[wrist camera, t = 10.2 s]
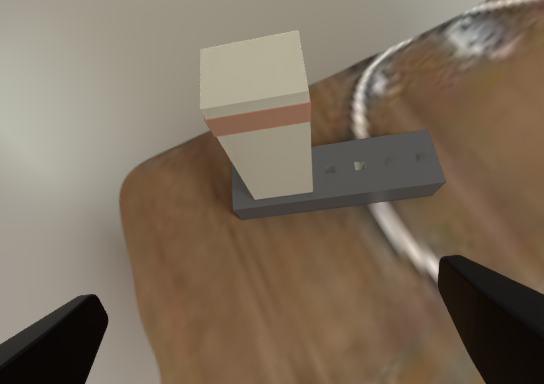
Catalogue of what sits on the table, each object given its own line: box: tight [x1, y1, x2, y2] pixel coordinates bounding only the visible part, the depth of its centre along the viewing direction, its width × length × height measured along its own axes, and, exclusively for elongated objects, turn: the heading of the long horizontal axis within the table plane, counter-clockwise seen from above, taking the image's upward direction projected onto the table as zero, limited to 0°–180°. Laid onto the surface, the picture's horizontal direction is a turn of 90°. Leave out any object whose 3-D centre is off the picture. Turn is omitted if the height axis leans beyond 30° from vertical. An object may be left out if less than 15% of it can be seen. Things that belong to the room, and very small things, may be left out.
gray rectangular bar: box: [231, 129, 446, 220], centre depth 21 cm, size 4×14×2 cm, turn 95°
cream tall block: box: [200, 30, 313, 200], centre depth 16 cm, size 3×4×10 cm
